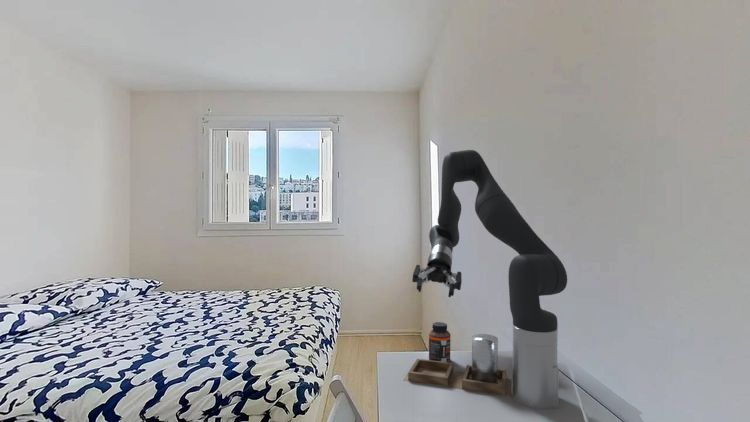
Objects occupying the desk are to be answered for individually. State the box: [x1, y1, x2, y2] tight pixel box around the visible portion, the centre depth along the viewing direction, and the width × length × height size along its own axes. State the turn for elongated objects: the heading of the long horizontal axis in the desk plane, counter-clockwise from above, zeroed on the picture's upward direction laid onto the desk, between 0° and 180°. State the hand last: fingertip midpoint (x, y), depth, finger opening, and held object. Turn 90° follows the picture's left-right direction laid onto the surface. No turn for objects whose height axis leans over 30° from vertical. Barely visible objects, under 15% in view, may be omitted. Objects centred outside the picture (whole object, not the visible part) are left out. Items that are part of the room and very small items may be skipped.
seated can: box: [471, 333, 499, 384], centre depth 95 cm, size 6×6×11 cm
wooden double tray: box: [403, 358, 512, 398], centre depth 97 cm, size 25×10×3 cm, turn 70°
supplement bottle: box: [428, 321, 452, 363], centre depth 110 cm, size 6×6×11 cm
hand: (434, 292), depth 111 cm, fingers open, 8 cm apart
